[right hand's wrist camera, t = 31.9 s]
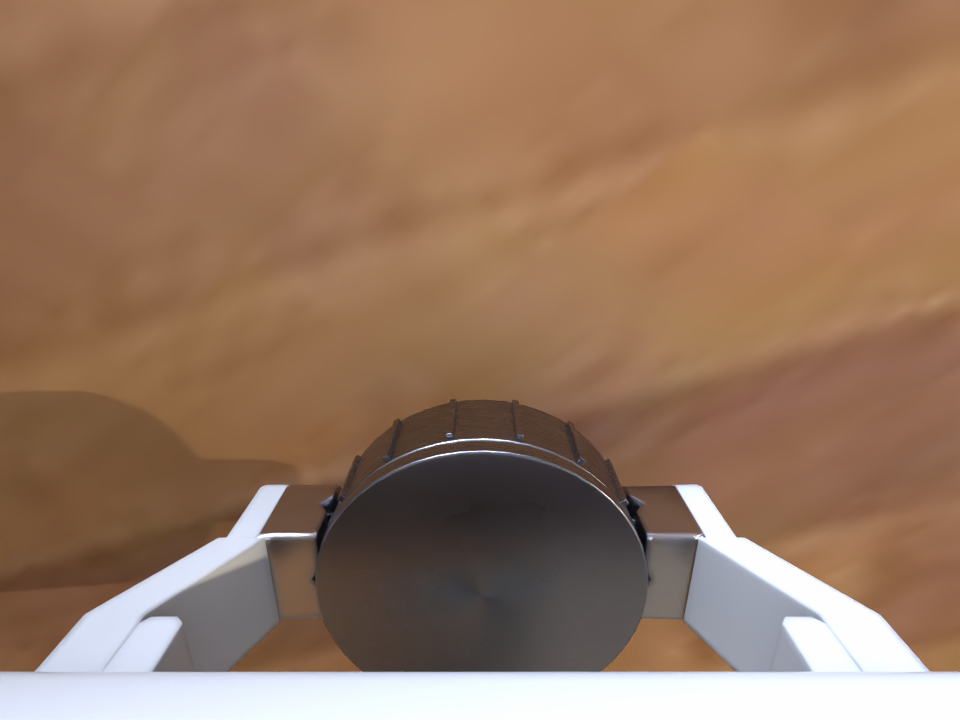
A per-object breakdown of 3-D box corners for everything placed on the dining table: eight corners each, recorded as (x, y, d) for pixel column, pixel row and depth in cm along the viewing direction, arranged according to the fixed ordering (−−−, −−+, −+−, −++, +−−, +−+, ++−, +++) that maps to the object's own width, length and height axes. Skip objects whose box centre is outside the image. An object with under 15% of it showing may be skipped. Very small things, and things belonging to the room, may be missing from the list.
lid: (328, 394, 9) (294, 446, 8) (639, 399, 9) (674, 451, 8) (350, 627, 11) (327, 710, 10) (607, 631, 11) (629, 714, 10)
